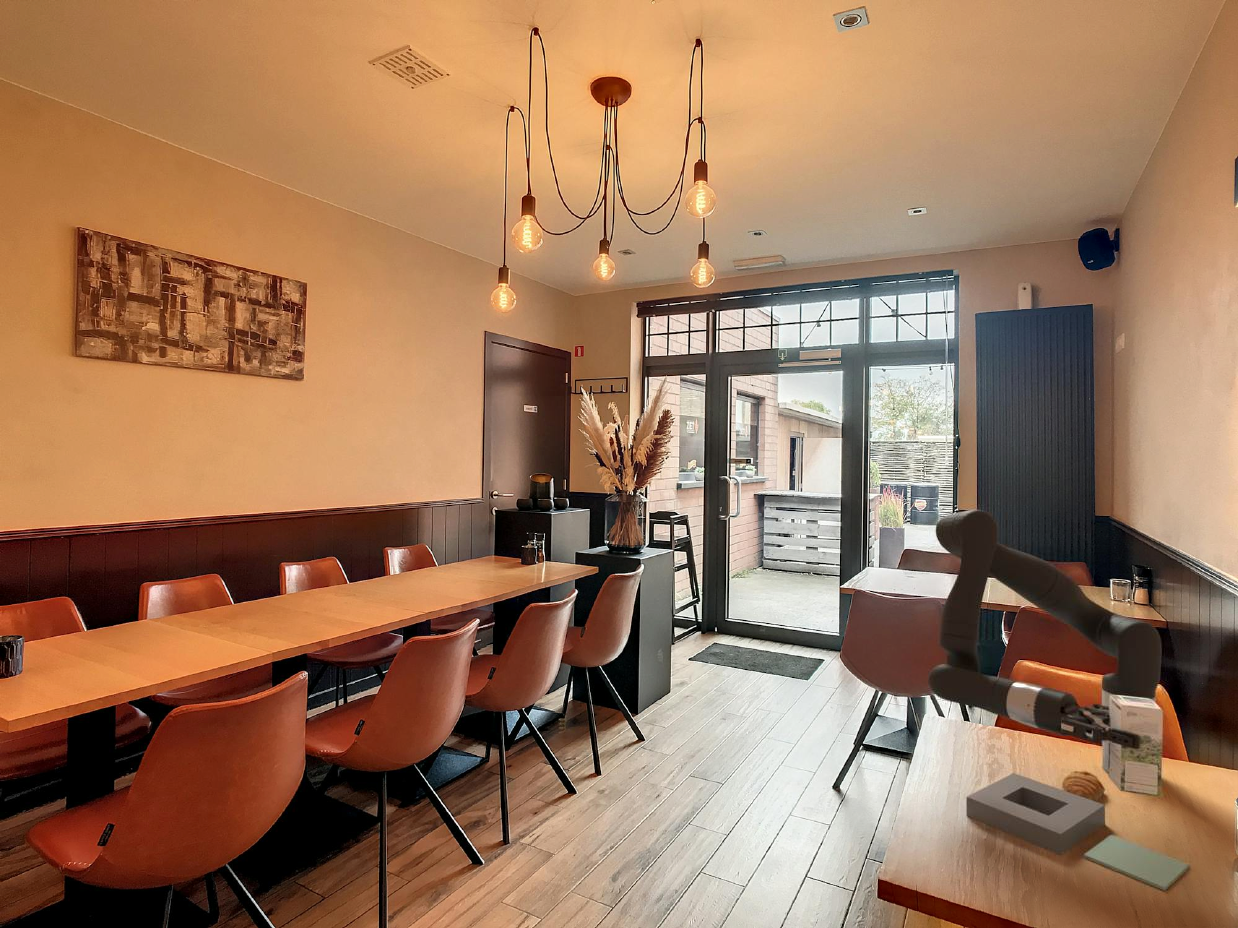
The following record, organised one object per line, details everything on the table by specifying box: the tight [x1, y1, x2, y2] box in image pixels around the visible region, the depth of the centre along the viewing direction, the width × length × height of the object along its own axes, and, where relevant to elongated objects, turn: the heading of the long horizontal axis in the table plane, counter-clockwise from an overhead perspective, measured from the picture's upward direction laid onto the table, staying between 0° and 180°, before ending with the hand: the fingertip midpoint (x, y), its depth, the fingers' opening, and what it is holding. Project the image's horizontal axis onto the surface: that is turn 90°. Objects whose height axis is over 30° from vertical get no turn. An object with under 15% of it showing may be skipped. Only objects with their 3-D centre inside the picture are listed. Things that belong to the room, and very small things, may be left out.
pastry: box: [1061, 770, 1106, 802], centre depth 136 cm, size 9×7×4 cm
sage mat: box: [1083, 834, 1190, 891], centre depth 112 cm, size 11×11×1 cm
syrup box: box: [1107, 695, 1164, 798], centre depth 112 cm, size 6×6×14 cm
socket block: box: [966, 772, 1106, 856], centre depth 126 cm, size 18×16×4 cm
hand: (1149, 736), depth 111 cm, fingers closed on syrup box, 7 cm apart
